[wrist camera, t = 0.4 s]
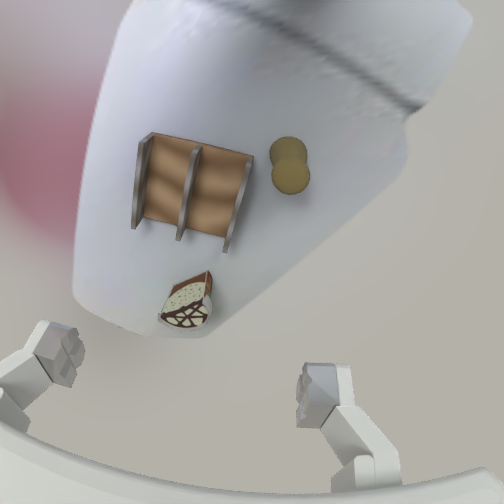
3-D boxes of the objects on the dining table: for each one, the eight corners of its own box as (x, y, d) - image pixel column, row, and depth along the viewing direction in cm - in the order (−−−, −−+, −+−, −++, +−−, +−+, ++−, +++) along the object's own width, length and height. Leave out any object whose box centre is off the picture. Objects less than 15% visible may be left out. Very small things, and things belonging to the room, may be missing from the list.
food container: (185, 305, 72) (175, 339, 64) (168, 287, 69) (155, 320, 61) (230, 287, 68) (224, 323, 60) (213, 267, 65) (204, 302, 57)
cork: (304, 173, 52) (310, 203, 43) (267, 169, 52) (265, 198, 43) (309, 139, 49) (317, 162, 40) (271, 134, 49) (270, 156, 40)
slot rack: (151, 132, 49) (139, 142, 45) (253, 156, 51) (250, 168, 46) (141, 212, 59) (130, 228, 54) (230, 235, 60) (226, 253, 56)
